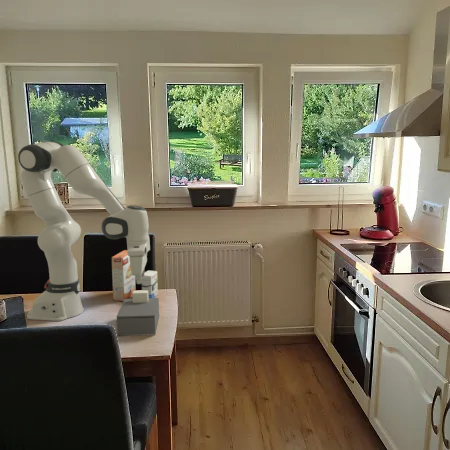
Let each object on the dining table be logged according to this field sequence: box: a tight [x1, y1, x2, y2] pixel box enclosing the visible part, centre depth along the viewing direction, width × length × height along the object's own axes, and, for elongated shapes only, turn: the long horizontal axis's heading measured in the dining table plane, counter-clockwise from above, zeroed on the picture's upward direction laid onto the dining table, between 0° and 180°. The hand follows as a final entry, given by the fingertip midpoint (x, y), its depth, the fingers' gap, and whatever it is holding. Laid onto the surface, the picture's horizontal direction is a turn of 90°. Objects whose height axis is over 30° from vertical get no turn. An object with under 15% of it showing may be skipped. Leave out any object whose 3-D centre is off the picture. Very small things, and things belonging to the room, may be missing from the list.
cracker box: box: [111, 249, 137, 302], centre depth 195 cm, size 14×6×21 cm, turn 170°
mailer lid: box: [116, 290, 159, 319], centre depth 163 cm, size 14×18×5 cm
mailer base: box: [116, 300, 160, 337], centre depth 164 cm, size 14×18×7 cm
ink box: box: [141, 270, 159, 298], centre depth 195 cm, size 8×5×12 cm, turn 168°
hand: (140, 279), depth 167 cm, fingers open, 8 cm apart
